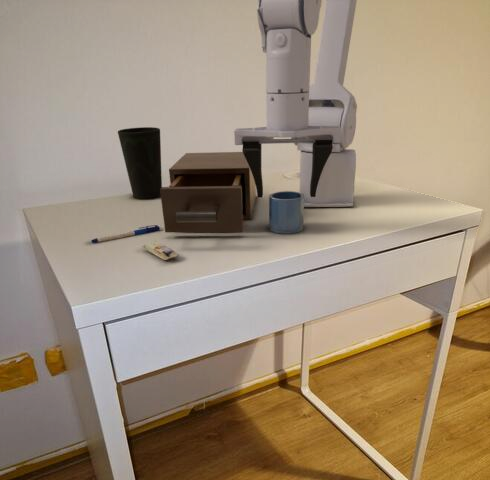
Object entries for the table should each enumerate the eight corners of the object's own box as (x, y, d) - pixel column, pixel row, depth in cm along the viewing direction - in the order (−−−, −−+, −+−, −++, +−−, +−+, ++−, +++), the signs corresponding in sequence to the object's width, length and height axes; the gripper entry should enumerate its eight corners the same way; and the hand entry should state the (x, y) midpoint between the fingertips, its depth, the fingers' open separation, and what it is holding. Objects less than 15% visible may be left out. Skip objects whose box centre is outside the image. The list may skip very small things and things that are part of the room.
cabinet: (250, 219, 75) (249, 167, 71) (174, 220, 76) (168, 169, 72) (255, 196, 88) (254, 151, 84) (190, 197, 89) (186, 153, 85)
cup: (171, 190, 94) (164, 126, 88) (161, 200, 88) (153, 132, 82) (134, 191, 95) (125, 127, 89) (122, 201, 88) (111, 133, 82)
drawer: (239, 243, 63) (237, 196, 60) (157, 244, 64) (151, 198, 61) (248, 206, 79) (247, 168, 76) (182, 207, 80) (178, 169, 77)
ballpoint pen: (158, 229, 73) (157, 223, 72) (160, 230, 72) (159, 224, 72) (91, 243, 68) (90, 236, 68) (93, 244, 68) (92, 238, 67)
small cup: (302, 223, 73) (303, 190, 71) (303, 233, 68) (304, 199, 66) (269, 223, 73) (269, 191, 71) (268, 234, 69) (268, 200, 66)
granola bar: (141, 249, 65) (140, 242, 64) (156, 245, 66) (155, 238, 65) (164, 263, 60) (163, 255, 59) (180, 258, 61) (179, 251, 60)
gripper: (230, 95, 59) (234, 203, 66) (346, 92, 58) (339, 202, 64) (235, 92, 65) (239, 191, 72) (340, 89, 64) (334, 190, 71)
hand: (286, 195), depth 68 cm, fingers open, 7 cm apart
